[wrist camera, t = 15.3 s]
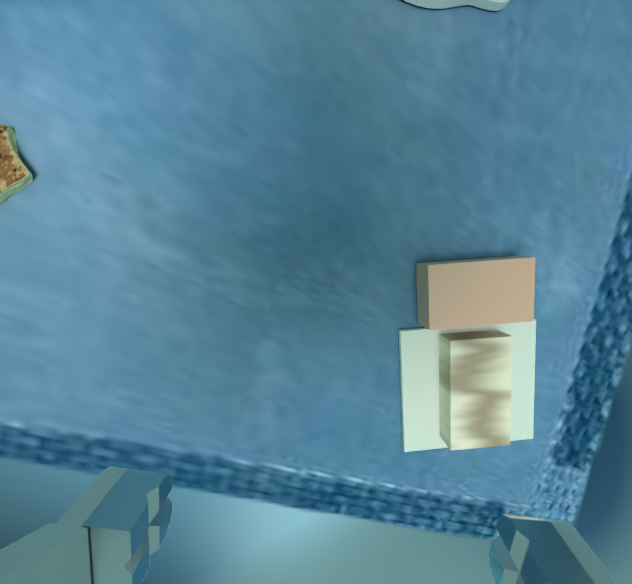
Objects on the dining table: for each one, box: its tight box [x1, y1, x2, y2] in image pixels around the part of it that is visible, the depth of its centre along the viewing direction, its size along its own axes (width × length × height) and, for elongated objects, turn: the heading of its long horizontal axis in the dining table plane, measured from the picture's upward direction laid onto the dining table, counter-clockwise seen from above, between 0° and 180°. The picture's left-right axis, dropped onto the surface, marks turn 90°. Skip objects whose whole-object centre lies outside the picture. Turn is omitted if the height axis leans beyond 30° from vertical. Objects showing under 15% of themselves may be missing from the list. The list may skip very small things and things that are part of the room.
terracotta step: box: [416, 256, 535, 330], centre depth 32 cm, size 10×6×3 cm, turn 94°
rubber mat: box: [399, 319, 536, 452], centre depth 35 cm, size 14×13×1 cm
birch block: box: [439, 330, 513, 450], centre depth 34 cm, size 6×2×11 cm
